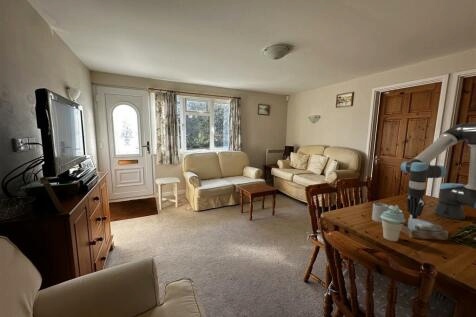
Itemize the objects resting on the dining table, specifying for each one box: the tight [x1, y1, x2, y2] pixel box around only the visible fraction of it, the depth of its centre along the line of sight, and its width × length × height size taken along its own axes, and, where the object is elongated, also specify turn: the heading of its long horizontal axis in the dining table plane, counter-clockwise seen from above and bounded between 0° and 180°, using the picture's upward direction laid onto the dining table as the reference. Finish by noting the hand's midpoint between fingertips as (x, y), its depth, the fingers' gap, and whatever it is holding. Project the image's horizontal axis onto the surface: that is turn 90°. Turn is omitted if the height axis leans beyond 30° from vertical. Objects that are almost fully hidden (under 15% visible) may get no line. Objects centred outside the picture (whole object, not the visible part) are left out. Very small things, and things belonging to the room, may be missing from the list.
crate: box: [407, 218, 434, 229], centre depth 117 cm, size 8×8×7 cm
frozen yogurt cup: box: [380, 204, 407, 242], centre depth 110 cm, size 10×11×20 cm
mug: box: [371, 202, 389, 224], centre depth 135 cm, size 12×8×11 cm
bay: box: [400, 217, 449, 241], centre depth 121 cm, size 18×23×8 cm
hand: (412, 224), depth 123 cm, fingers closed
